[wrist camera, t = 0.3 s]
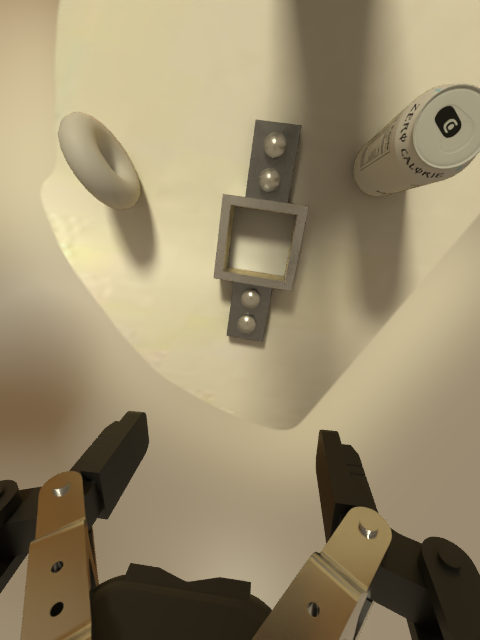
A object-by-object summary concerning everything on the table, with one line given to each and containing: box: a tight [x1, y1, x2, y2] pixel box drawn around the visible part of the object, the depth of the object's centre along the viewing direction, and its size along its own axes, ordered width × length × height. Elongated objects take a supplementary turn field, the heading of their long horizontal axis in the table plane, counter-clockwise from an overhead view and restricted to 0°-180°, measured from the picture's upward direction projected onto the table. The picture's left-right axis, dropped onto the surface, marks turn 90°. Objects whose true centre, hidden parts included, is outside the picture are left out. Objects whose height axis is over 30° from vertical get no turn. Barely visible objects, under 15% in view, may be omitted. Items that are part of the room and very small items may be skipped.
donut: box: [58, 112, 140, 210], centre depth 32 cm, size 10×4×10 cm, turn 25°
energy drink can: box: [354, 84, 480, 196], centre depth 26 cm, size 6×6×15 cm
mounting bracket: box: [214, 120, 309, 342], centre depth 36 cm, size 26×10×4 cm, turn 172°
